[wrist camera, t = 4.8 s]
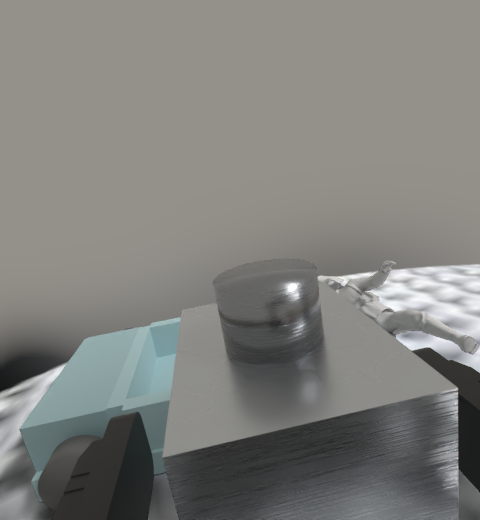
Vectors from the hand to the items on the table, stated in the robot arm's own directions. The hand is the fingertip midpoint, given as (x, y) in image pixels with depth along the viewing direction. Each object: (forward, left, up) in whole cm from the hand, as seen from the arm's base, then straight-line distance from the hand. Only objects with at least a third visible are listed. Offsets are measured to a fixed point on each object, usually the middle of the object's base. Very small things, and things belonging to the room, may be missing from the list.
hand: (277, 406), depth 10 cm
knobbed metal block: (0, +1, -6) cm, 6 cm away
